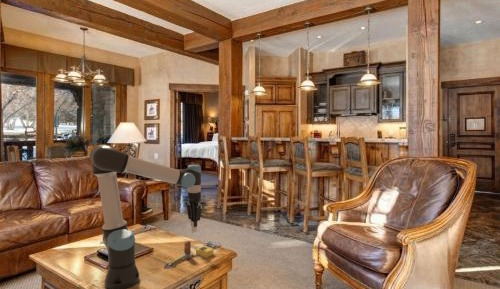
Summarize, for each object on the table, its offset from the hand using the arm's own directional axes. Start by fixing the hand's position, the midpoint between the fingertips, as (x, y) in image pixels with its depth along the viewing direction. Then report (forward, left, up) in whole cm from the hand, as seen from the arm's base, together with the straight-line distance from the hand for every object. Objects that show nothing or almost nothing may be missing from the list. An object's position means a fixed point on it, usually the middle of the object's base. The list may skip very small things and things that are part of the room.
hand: (194, 231), depth 178 cm
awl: (-9, -5, -12) cm, 16 cm away
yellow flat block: (0, -9, -11) cm, 14 cm away
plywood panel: (+2, -3, -12) cm, 13 cm away
